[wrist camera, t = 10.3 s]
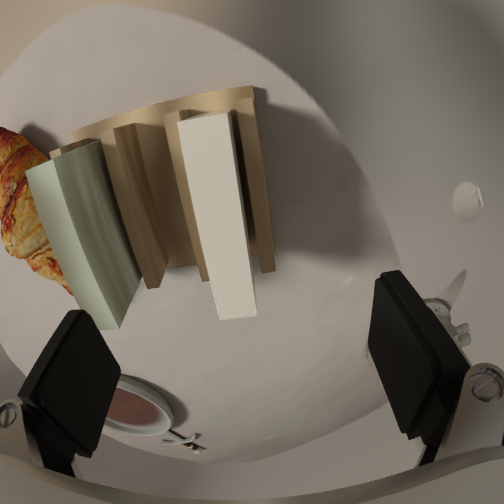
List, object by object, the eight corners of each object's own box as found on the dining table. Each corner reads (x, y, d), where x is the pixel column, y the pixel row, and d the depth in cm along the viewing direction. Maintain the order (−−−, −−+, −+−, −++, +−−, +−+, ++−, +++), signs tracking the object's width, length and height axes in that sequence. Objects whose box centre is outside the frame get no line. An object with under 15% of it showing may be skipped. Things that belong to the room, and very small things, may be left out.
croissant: (140, 268, 31) (153, 296, 25) (75, 319, 29) (72, 358, 22) (41, 107, 21) (24, 87, 15) (-28, 167, 19) (-61, 168, 12)
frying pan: (168, 461, 47) (51, 393, 35) (169, 450, 50) (56, 380, 37) (237, 449, 43) (109, 369, 31) (237, 435, 46) (115, 352, 33)
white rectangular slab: (231, 109, 20) (227, 113, 12) (250, 241, 25) (257, 315, 17) (201, 113, 20) (177, 122, 12) (224, 244, 25) (219, 320, 17)
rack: (251, 86, 20) (263, 72, 11) (274, 246, 27) (293, 327, 18) (77, 130, 20) (-3, 157, 11) (120, 269, 27) (80, 346, 18)
